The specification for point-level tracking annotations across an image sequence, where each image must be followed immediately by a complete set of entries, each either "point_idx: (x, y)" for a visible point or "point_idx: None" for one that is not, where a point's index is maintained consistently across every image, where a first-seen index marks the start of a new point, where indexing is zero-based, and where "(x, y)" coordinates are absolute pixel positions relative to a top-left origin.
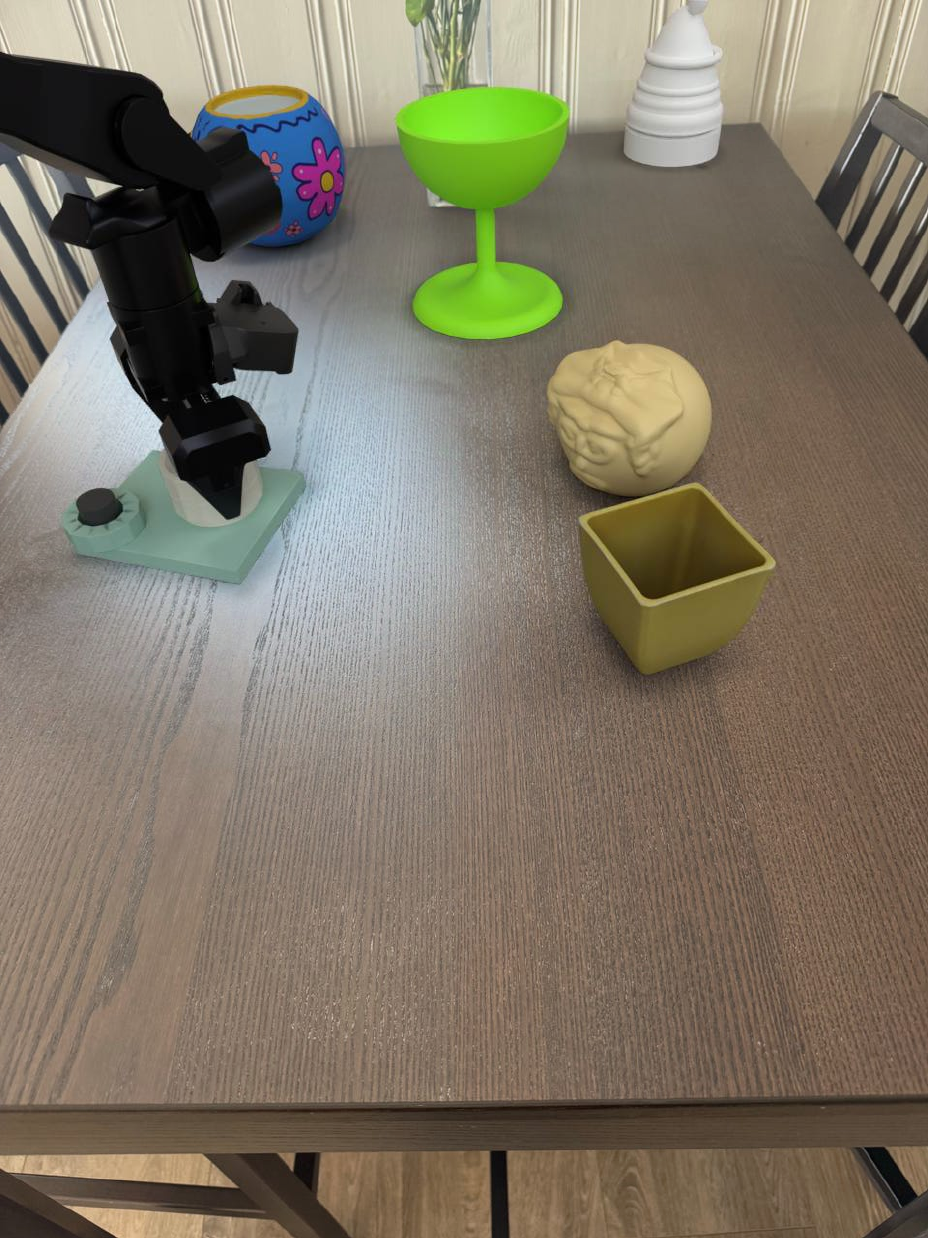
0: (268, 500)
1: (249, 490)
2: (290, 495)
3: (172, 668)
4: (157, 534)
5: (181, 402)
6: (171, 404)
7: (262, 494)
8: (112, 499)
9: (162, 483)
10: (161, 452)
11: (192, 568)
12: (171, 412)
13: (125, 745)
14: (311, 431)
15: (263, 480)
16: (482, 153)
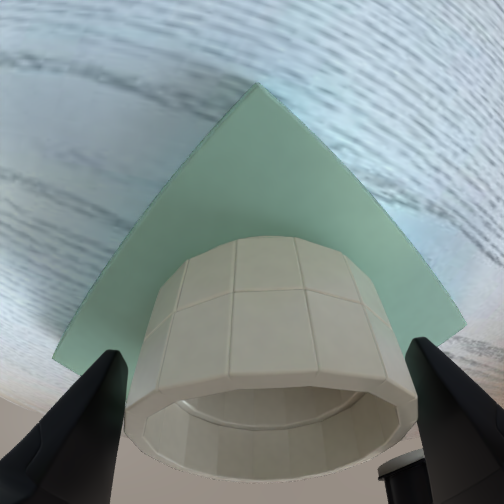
0: (336, 226)
1: (389, 321)
2: (336, 158)
3: (480, 368)
4: None
5: (72, 491)
6: (85, 501)
7: (340, 252)
8: None
9: None
10: (209, 478)
11: None
12: (95, 486)
13: (498, 387)
14: (17, 30)
15: (234, 213)
16: None
